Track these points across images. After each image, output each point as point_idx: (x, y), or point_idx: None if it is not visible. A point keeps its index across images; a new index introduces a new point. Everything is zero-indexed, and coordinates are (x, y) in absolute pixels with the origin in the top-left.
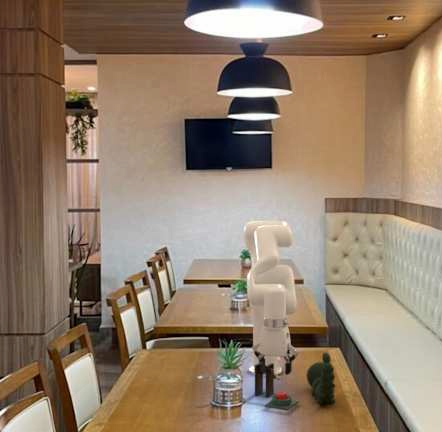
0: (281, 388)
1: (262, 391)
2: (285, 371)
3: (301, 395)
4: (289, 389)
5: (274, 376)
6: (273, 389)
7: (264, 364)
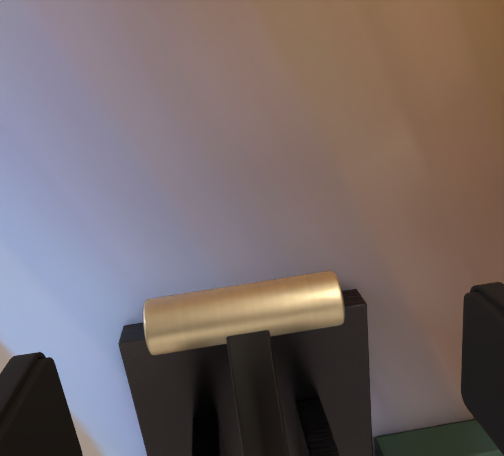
0: (232, 115)
1: (219, 435)
2: (488, 428)
3: (493, 195)
4: (320, 98)
5: (276, 377)
6: (332, 436)
7: (26, 447)
